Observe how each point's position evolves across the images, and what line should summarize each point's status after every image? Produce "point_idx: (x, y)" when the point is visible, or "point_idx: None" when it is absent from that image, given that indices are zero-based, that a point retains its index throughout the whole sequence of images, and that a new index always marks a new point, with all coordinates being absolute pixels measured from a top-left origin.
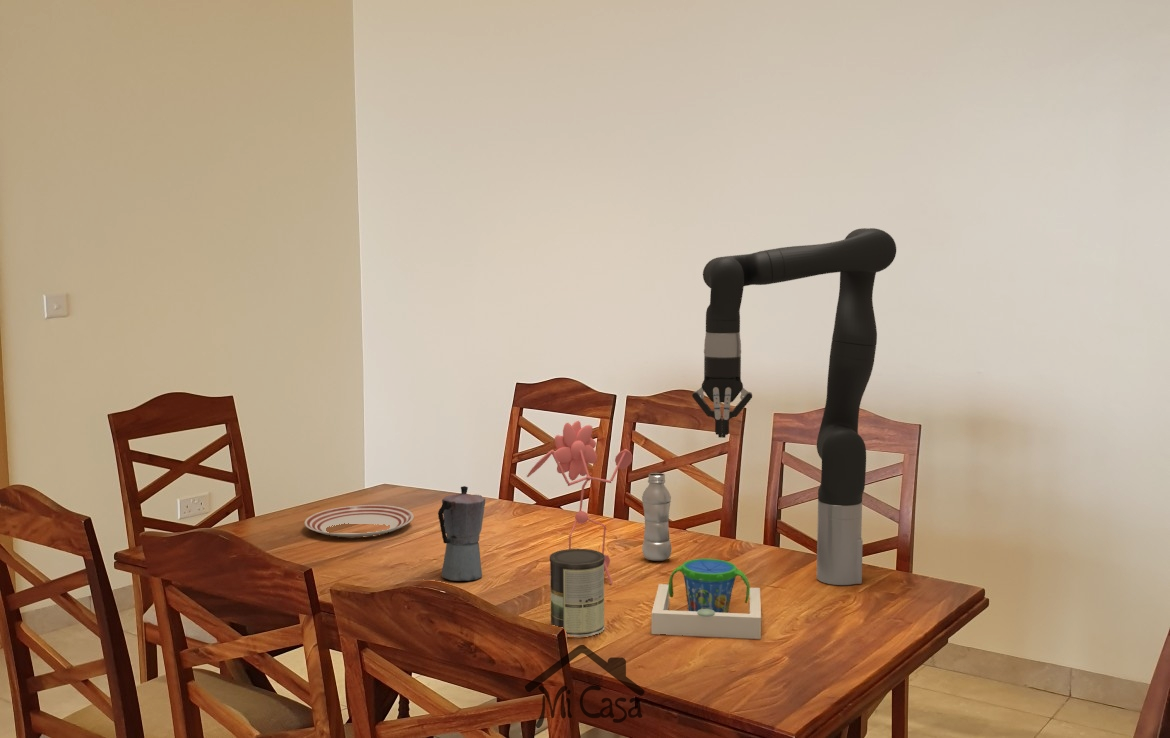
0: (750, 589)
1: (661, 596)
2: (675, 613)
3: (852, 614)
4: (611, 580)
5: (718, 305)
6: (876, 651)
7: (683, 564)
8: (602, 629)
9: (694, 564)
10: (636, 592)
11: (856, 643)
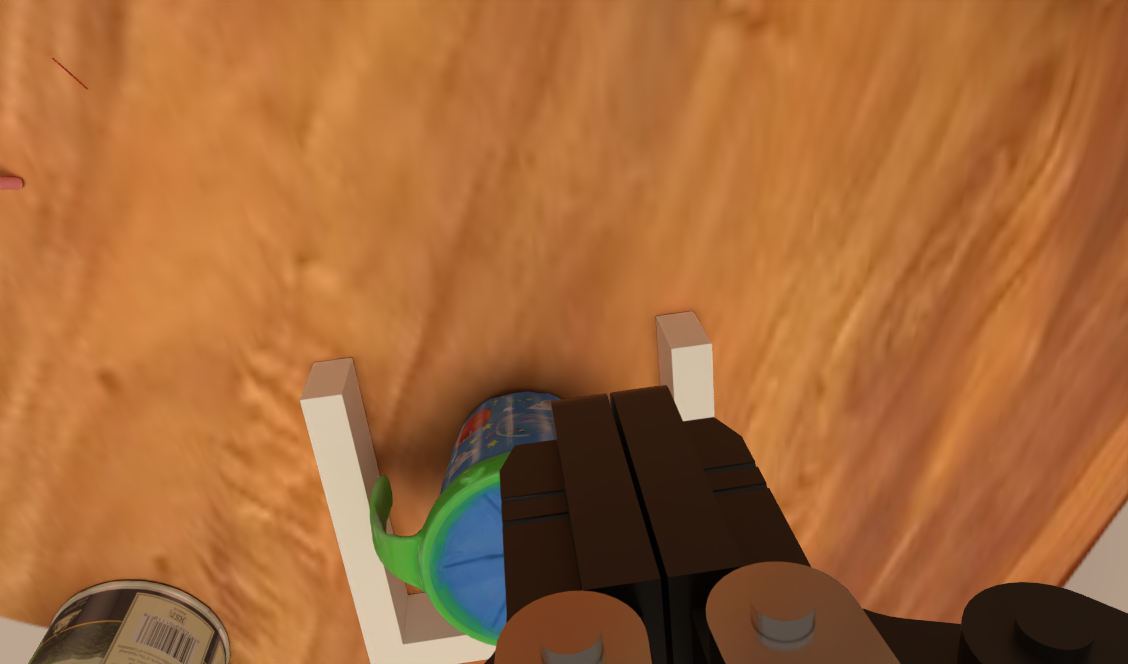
0: (675, 371)
1: (356, 530)
2: (450, 659)
3: (1015, 296)
4: (8, 184)
5: None
6: (1015, 572)
7: (427, 579)
8: (226, 653)
9: (466, 534)
10: (174, 256)
11: (973, 534)
